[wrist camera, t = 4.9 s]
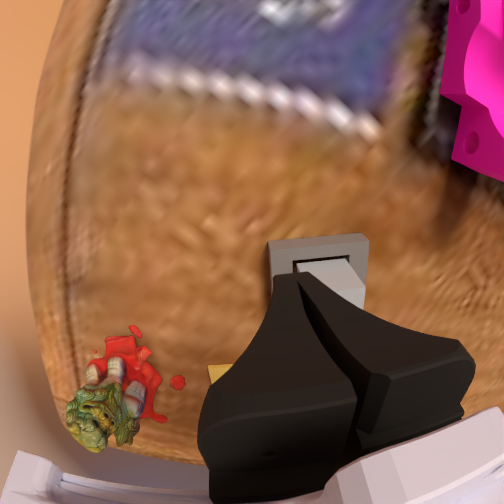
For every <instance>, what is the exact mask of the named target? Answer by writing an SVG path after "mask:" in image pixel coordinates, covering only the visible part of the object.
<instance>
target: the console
mask: <svg viewBox="0 0 504 504" xmlns="http://www.w3.org/2000/svg"><path fill="white" fill-rule="evenodd" d="M268 251H269V267H270V284H271V296H272V292H273V277H274V276H275V275H279V274H288V273H293V264H292V261H293V260H303V259H313V258H322V257H332V256H342V259H344V258H345V259H346V260H347V262H348V263H349V264H350V266H351V267H352V269H353V270H354V271H355V273H356V274H357V275H358V277H359V278H360V280H361V281H362V283H363V284H364V285H365V283H366V274H367V263H368V252H369V240H368V239H367V238H366V237H365V236H364V235H363V234H362V233H353V234H342V235H330V236H319V237H308V238H297V239H286V240H275V241H268Z"/></svg>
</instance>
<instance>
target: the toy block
mask: <svg viewBox="0 0 504 504" xmlns="http://www.w3.org/2000/svg"><path fill="white" fill-rule="evenodd" d="M440 94H441V95H443V96H445V97H446V98H448V99H450V100H452V101H454V102H455V103H457V104H459V105H461V106H462V108H461V114H460V119H459V124H458V129H457V134H456V139H455V143H454V148H453V152H452V156H451V159H452V160H454V161H456V162H458V163H460V164H462V165H464V166H466V167H468V168H470V169H472V170H474V171H476V172H478V173H481V174H484V175H487V176H489V177H492V178H495V179H497V180H500V181H503V182H504V0H449V17H448V32H447V43H446V53H445V61H444V69H443V76H442V83H441V89H440Z"/></svg>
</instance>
